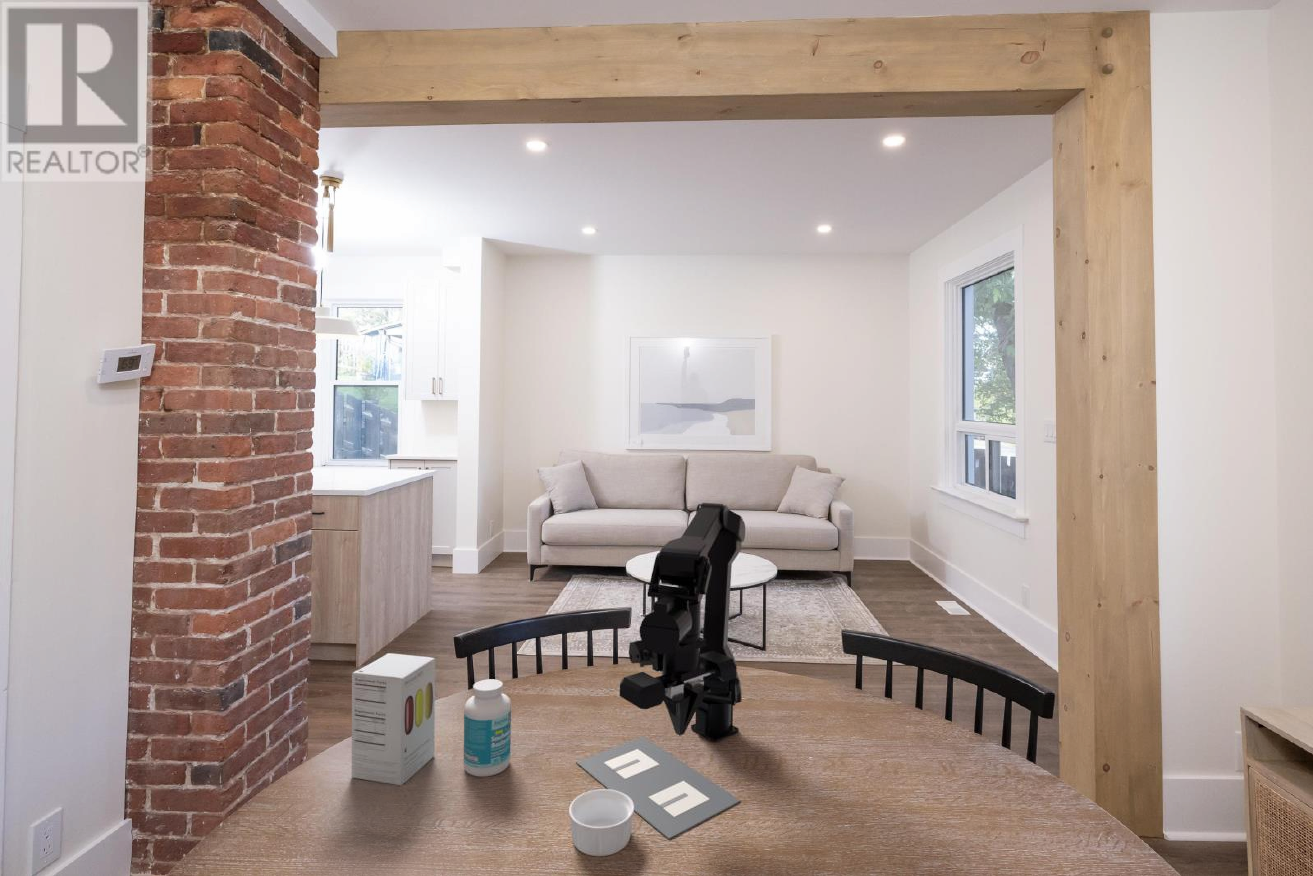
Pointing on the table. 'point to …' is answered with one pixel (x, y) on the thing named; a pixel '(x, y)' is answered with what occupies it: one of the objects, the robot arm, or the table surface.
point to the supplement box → (393, 718)
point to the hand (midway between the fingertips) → (679, 734)
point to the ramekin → (601, 821)
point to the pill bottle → (487, 729)
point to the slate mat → (659, 785)
